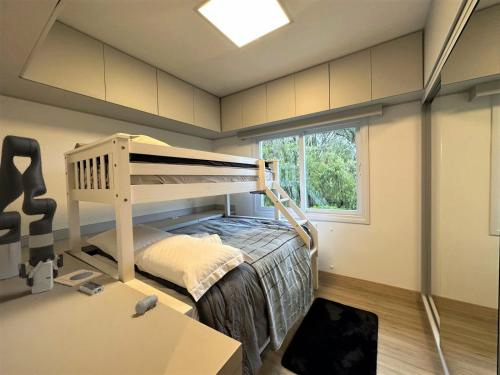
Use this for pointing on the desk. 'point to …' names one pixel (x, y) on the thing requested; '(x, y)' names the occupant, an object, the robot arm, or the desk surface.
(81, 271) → the beige flat board
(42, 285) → the skincare box
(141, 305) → the grey rounded cylinder
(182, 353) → the desk surface
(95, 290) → the multiport hub
